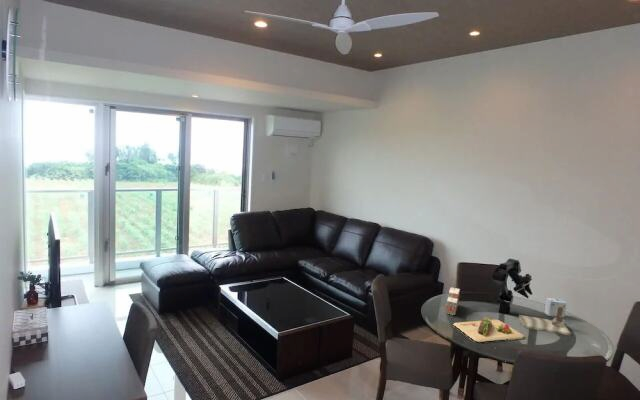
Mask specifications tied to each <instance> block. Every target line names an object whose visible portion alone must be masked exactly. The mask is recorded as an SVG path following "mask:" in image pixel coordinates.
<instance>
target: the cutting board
mask: <svg viewBox="0 0 640 400" xmlns="http://www.w3.org/2000/svg"><path fill="white" fill-rule="evenodd" d="M453 325H454V326H456V327H457V328H459V329H460V330H461V331H462V332H464V333H465V334H466V335H467V336H469V337H470V338H472V339H473V340H474V341H477V342H485V341H494V340H505V341H513V340H514V341H515V340H523V339H524V337H525V336H524V334H522V333H520V332H519V331H517V330H516V329H514V328H512V327H511V326H509V324H508V323H505V322H503V321H501V320H499V319H490V318H489V317H483V318H482V319H481V320H476V321H463V322H454V323H453V324H452V326H453ZM454 326H453V327H454ZM462 332H461V333H462ZM466 335H465V336H466ZM467 336H466V337H467ZM470 338H469V339H470ZM506 339H508V340H506ZM474 341H473V342H474ZM485 343H486V342H485Z"/></svg>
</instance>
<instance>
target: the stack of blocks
mask: <svg viewBox="0 0 640 400" xmlns="http://www.w3.org/2000/svg"><path fill="white" fill-rule="evenodd" d="M460 291H461V289H460V288H456V287H452V286H451V287H450V288H449V291H448V298H447V299H446V306H445V314H446V315H449V314H450V315H449V316H453V315H455V316H456V313H457V310H458V307H459V300H460Z"/></svg>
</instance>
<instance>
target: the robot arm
mask: <svg viewBox="0 0 640 400" xmlns="http://www.w3.org/2000/svg"><path fill="white" fill-rule="evenodd" d="M501 270H503V271H505V273H503V272H500V271H501ZM521 272H522V268H521V262H520V260H519V259H514V258H508V259H507V260H506V261H505V262H503V263H499V266H498V267H496V268H495V269H494V270H493V272H492V275H491V278H492V280H493V282H494V283H496V284H497V285H498V288H499V291H500V293H499V294H498V296H497V300H496V302H497V303H498V308H497V310H498V313H500V314H507V315H510V313H511V306H512V305H513V302H514V297H515V296H514V295H513V294H514V293H517V294H519V295H522V297H525V298H526V299H529V295H531V296H532V295H533V292H532V290H531V287H530V285H531V281H533V279H532V276H531V274H529V273H525V275H521V274H520V273H521ZM508 278H510V279H511V282H513V283H514V285H515V286H514V287H513V288H512V289H513V291H514V293H513V291H512V290H511V289H509V288H508V286H507V281H508ZM528 294H529V295H528Z"/></svg>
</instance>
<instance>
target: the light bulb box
mask: <svg viewBox="0 0 640 400" xmlns="http://www.w3.org/2000/svg"><path fill="white" fill-rule="evenodd" d="M559 306H561V307H563V312H562V318H565V317H566V312H567V311H566V309H567V302H566V301H565V300H564V299H562V298H561V299H560V298H550V297H546V301H545V309H544V313H545V314H546V315H547V316H549V317H555V318H557V312H558V307H559Z"/></svg>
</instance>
